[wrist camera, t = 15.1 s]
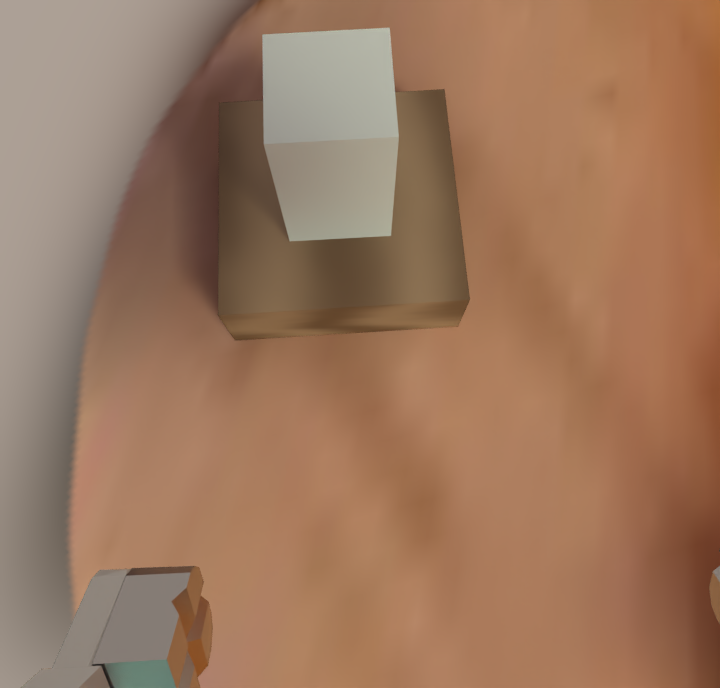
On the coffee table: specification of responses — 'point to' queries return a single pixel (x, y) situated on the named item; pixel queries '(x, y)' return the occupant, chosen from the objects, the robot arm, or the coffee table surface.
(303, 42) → the light grey block
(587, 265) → the coffee table surface
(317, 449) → the coffee table surface
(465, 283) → the walnut plinth
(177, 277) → the coffee table surface
